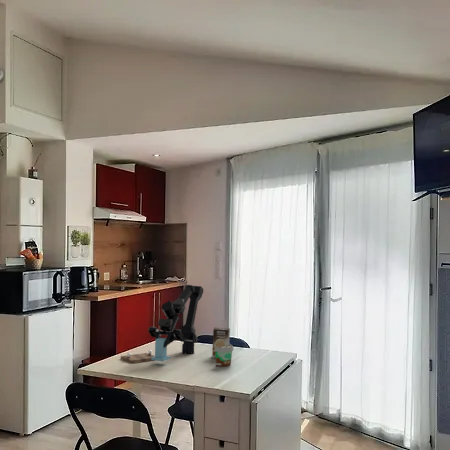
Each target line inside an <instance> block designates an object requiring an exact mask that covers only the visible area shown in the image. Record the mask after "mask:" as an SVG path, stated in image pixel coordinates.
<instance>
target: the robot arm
mask: <svg viewBox="0 0 450 450" xmlns="http://www.w3.org/2000/svg"><path fill="white" fill-rule="evenodd" d="M203 293H204V288H203V287H202V286H201V285H192V284H186V285H185V286H184V289H183V290H182V292H181V294H180V295H179V296H178V298H177V299H174V300H173V301H172V300H167V301H166V302H165V303H163V304H162V305H161V310H162V312H163V313H164V316H165V317H166V319H164V318H159V319H158V322H157V326H159V328H160V329H158V327H156V326H150V327H148V329H147V332H148V333H149V335H150V337H151V338H155V340H156V339H157V338H162V337H161V336H167V337H166V338H167V339H166V341H165V343H164V346H163V347H164V348H165V347H166V346H167V347H168V346H169V345H170V344H171V343H173V342H174V341H176V340H177V341H180V343H181V342H183V343H182V346H181V352H182V354H192V355H194V354H195V344H196V343H198V340H199V339H198V336H197V334H196V328H195V321H196V320H195V319H196V314H197V309H198V303H199V301H200V300H201V298H202V297H203ZM188 300H189V304H188V310H187V315H186V319H185V323H184V325H181V326H180V327H181V329H178V328H177V327H176V325H177V322H180V316H179V315H182V314H183V313H184V311H185V309H186V306H185V305H186V303H187V301H188ZM176 328H177V329H176Z"/></svg>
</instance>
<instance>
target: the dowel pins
mask: <svg viewBox="0 0 450 450" xmlns="http://www.w3.org/2000/svg"><path fill="white" fill-rule="evenodd" d="M147 353H148V355H149V356H151V355H152V350H148V352H147ZM126 355H127V358H130V355H131V352H127V354H126Z"/></svg>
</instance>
